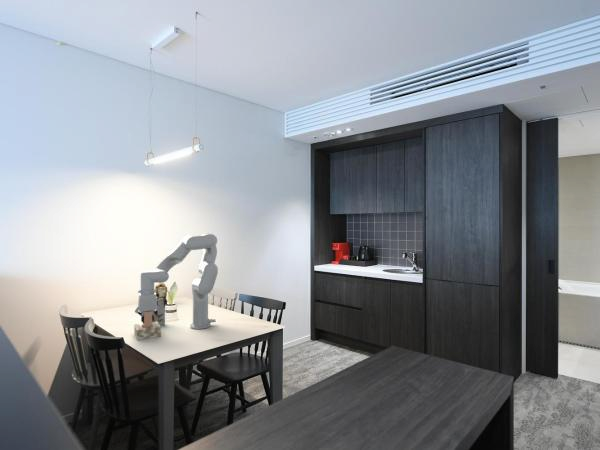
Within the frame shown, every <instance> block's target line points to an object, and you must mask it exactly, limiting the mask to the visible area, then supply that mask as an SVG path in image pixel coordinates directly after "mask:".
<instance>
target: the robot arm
mask: <svg viewBox="0 0 600 450" xmlns="http://www.w3.org/2000/svg"><path fill="white" fill-rule="evenodd" d="M217 244H218V238H217V236H216V235H215V234H213V233H202V234H200V235H186V236H184V237H183V239H181V241H180V242H179V243H178V244H177V245H176V246H175V248H173V250H172V251H171V252H170V253H169V254H168V255H167V256H166V257H165V258H164V259H163V260H162V261H160V262H159V264H158V265H156V267H155V268H154V270H143V271H141V272H140V289H139V290H137V293H138V295H139V296H138V304H137V307H136V308H135V310H134V313H135V314H138V315H139V316H141V318H140V321H141V323H144V312H147V311H152V322H153V320H154V314H155V313H156V312H157V311H159V310H160V308H159V307H158V305H157V297H156V293H154V290H155V283H157V284H159V283H165V282H167V281H168V280H169V278H170V275H169V273H168V272H169V271H170V270H171V269H172V268H174V266H176V265H179V264H180V263H182V262H183V261H184V260H185V258H186V257H187V256H188V255H190V252H191V251H197V250H203V254H202V257H201V260H200V263H199V266H198V273H199V274H200V275H201V276H199V277H196V278H194V279H193V281H192V283H191V290H192V323H191V324H190V329H193V330H202V329H203V330H204V329H208V328H210V327H211V323H216V318H215V319H213V318H209V294H211V292H212V291H213V288H214V286H215V283H216V280H217V277H218V273H219V272H218V271H219V268H218V265H217V264H216V263H215V262H216V259H217V254H218V248H217ZM154 310H155V311H154Z"/></svg>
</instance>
